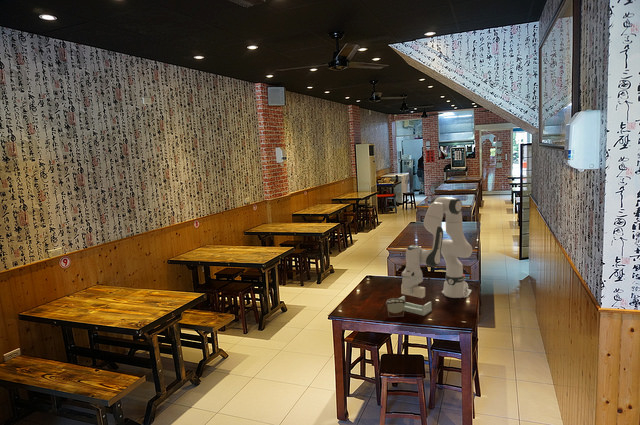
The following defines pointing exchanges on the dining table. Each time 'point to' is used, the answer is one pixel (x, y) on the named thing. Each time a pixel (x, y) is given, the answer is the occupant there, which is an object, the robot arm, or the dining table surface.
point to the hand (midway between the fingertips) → (412, 291)
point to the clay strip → (414, 291)
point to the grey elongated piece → (417, 307)
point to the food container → (395, 307)
